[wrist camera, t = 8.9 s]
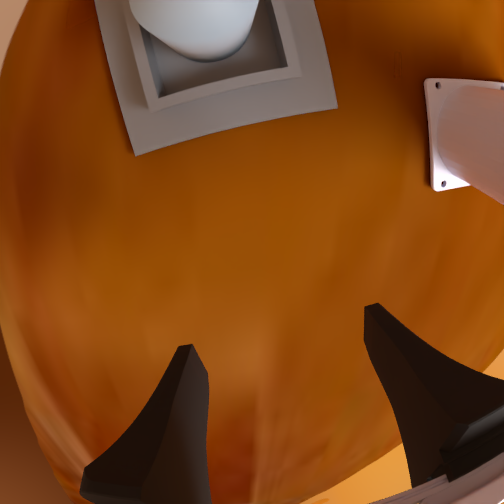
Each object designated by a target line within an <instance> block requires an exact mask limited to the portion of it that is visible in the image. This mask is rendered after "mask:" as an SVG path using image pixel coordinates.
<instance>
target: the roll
mask: <svg viewBox="0 0 504 504" xmlns="http://www.w3.org/2000/svg"><path fill="white" fill-rule="evenodd" d="M258 2H259V0H129V3H130V8H131V11H132V13H133V15H134V17H135V19H136V20H137V21H138V23H139V24H140V25H141V26H142V27H143V28H145V29H146V30H147V31H148V32H150V33H151V34H153V35H154V36H156V37H157V38H158V39H160V40H161V41H163V42H164V43H165V44H167V45H168V46H169V47H171V48H172V49H173V50H175V51H176V52H177V53H179V54H180V55H182V56H183V57H185V58H187V59H189V60H192V61H195V62H201V63H212V62H217V61H221V60H224V59H226V58H228V57H230V56H232V55H234V54H235V53H236V52H238V51H239V50H240V49H241V48H242V46H243V45H244V44H245V42H246V41H247V39H248V36H249V33H250V30H251V26H252V23H253V19H254V16H255V12H256V9H257V6H258Z"/></svg>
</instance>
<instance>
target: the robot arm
mask: <svg viewBox="0 0 504 504" xmlns="http://www.w3.org/2000/svg"><path fill="white" fill-rule="evenodd" d="M436 82H437V84H438V88H436V86H435V84H436ZM424 89H425V97H426V106H427V116H428V128H429V143H430V168H431V187H432V189H434V190H435V191H442V190H447V189H452V188H458V187H463V186H468V185H472V186H473V187H475V188H477V189H479V190H480V191H482V192H484V193H485V194H487V195H489V196H490V197H492V198H494V199H495V200H497V201H498V202H500V203H502V204H503V205H504V83H501V82H492V81H481V80H467V79H445V78H428V79H426V80H425V81H424ZM442 181H444V182H443V185H441V183H442ZM364 342H365V345H366V348H367V351H368V354H369V357H370V360H371V362H372V364H373V366H374V369H375V371H376V373H377V375H378V377H379V379H380V381H381V383H382V385H383V388H384V390H385V392H386V394H387V396H388V398H389V401H390V403H391V405H392V408H393V411H394V414H395V417H396V420H397V424H398V427H399V431H400V434H401V438H402V442H403V446H404V450H405V454H406V458H407V463H408V468H409V473H410V479H411V485H412V489H410V490H408V491H404V492H402V493H399V494H396V495H393V496H391V497H388V498H385V499H382V500H379V501H376V502H373V503H369V504H417V503H419V504H500V503H502V502H503V501H504V380H502V379H498V378H495V377H491V376H488V375H486V374H483V373H481V372H478V371H475V370H473V369H471V368H469V367H467V366H465V365H463V364H461V363H458V362H456V361H455V360H453V359H451V358H449V357H447V356H446V355H444V354H442V353H441V352H439V351H438V350H436V349H435V348H433V347H432V346H430V345H429V344H427V343H426V342H425V341H423V340H422V339H421V338H419V337H418V336H417V335H415V334H414V333H413V332H412V331H410V330H409V329H408V328H407V327H405V326H404V325H403V324H402V323H401V322H400V321H398V320H397V319H396V318H395V317H394V316H393V315H392V314H390V313H389V312H388V311H387V310H386V309H385V308H384V307H383V306H382V305H380V304H379V303H375V304H372V305H368V306H365V307H364ZM208 405H209V382H208V373H207V371H206V369H205V367H204V365H203V363H202V361H201V360H200V358H199V356H198V354H197V352H196V350H195V348H194V346H193V344H189V345H183V346H179V347H178V348H177V350H176V352H175V354H174V356H173V358H172V360H171V362H170V364H169V366H168V368H167V369H166V371H165V373H164V375H163V377H162V379H161V380H160V382H159V384H158V386H157V388H156V389H155V391H154V393H153V394H152V396H151V397H150V399H149V401H148V402H147V404H146V405H145V407H144V408H143V410H142V411H141V412H140V414H139V415H138V416H137V418H136V419H135V420H134V422H133V423H132V424H131V425H130V427H129V428H128V429H127V430H126V431H125V432H124V433H123V434H122V436H121V437H120V438H119V439H118V440H117V441H116V442H115V443H114V444H113V445H112V446H111V447H110V448H109V449H107V450H106V451H105V452H104V453H103V454H102V455H101V456H99V457H98V458H97V459H95V460H94V461H93V462H92V463H90V464H89V465H88V466H86V467H85V468H84V472H83V476H82V481H81V486H80V495H81V496H82V497H83V498H85V499H87V500H89V501H90V502H92V503H94V504H212V502H211V495H210V487H209V479H208V468H207V454H206V434H207V419H208Z"/></svg>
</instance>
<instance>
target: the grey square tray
mask: <svg viewBox="0 0 504 504" xmlns="http://www.w3.org/2000/svg"><path fill="white" fill-rule="evenodd" d="M95 6H96V11H97V15H98V20H99V25H100V29H101V34H102V38H103V43H104V47H105V51H106V55H107V59H108V63H109V67H110V71H111V75H112V79H113V82H114V86H115V90H116V93H117V97H118V101H119V104H120V108H121V111H122V114H123V118H124V121H125V125H126V128H127V131H128V134H129V138H130V141H131V144H132V147H133V150H134V153H135V156H138V155H141V154H144V153H147V152H150V151H153V150H156V149H159V148H162V147H166V146H169V145H172V144H176V143H179V142H182V141H186V140H189V139H193V138H196V137H200V136H204V135H207V134H211V133H215V132H219V131H223V130H227V129H231V128H235V127H239V126H244V125H248V124H253V123H257V122H262V121H267V120H271V119H277V118H282V117H287V116H292V115H298V114H304V113H310V112H316V111H323V110H329V109H337V108H338V106H337V100H336V95H335V89H334V84H333V79H332V74H331V69H330V65H329V60H328V56H327V51H326V47H325V43H324V38H323V34H322V30H321V26H320V22H319V19H318V15H317V11H316V8H315V4H314V0H259V2H258V6H257V9H256V12H255V16H254V19H253V23H252V26H251V30H250V33H249V36H248V39H247V41H246V42H245V44H244V45H243V46H242V48H241V49H240V50H239V51H238V52H236V53H235V54H234V55H232V56H230V57H228V58H226V59H224V60H221V61H217V62H212V63H201V62H195V61H192V60H189V59H187V58H185V57H183V56H182V55H180V54H179V53H177V52H176V51H175V50H173V49H172V48H171V47H169V46H168V45H167V44H165V43H164V42H163V41H161V40H160V39H158V38H157V37H156V36H154V35H153V34H151V33H150V32H148V31H147V30H146V29H145V28H143V27H142V26H141V25H140V24H139V23H138V21H137V20H136V19H135V17H134V15H133V13H132V11H131V8H130V3H129V0H95Z"/></svg>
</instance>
